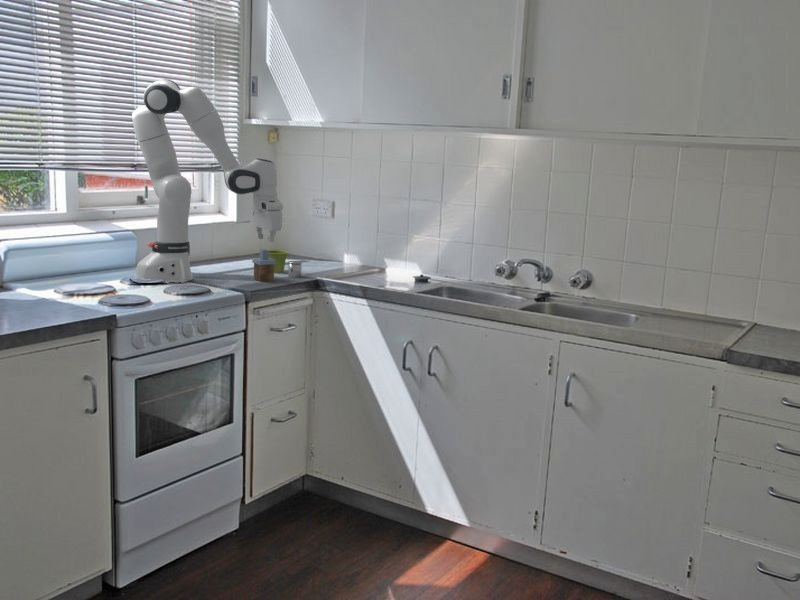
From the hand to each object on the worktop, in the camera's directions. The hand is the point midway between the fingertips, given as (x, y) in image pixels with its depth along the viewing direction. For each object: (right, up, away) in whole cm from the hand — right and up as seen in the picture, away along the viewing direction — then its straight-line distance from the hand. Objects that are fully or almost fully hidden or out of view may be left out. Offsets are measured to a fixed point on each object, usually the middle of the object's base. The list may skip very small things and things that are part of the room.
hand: (265, 240), depth 315 cm
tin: (+9, -14, +13) cm, 21 cm away
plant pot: (+1, -12, +22) cm, 25 cm away
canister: (-1, -15, +3) cm, 16 cm away
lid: (-1, -8, +2) cm, 9 cm away
